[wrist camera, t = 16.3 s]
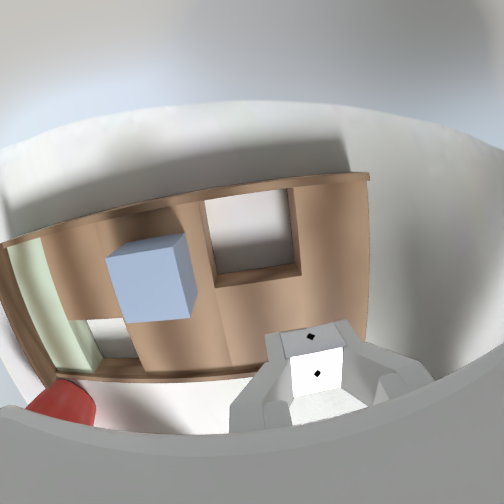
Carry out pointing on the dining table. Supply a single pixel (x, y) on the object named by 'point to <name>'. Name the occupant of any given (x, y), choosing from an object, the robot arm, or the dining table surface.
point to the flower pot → (65, 403)
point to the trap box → (207, 280)
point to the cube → (154, 279)
